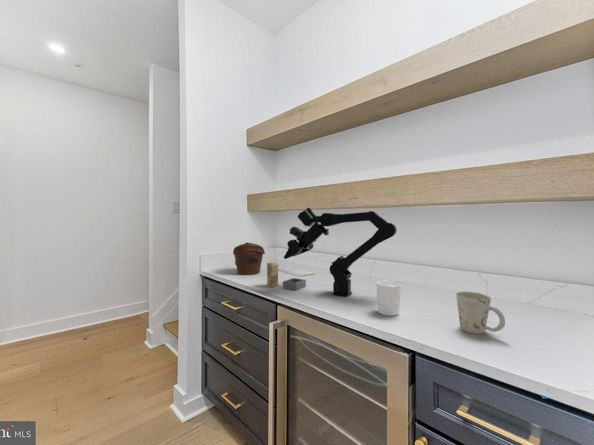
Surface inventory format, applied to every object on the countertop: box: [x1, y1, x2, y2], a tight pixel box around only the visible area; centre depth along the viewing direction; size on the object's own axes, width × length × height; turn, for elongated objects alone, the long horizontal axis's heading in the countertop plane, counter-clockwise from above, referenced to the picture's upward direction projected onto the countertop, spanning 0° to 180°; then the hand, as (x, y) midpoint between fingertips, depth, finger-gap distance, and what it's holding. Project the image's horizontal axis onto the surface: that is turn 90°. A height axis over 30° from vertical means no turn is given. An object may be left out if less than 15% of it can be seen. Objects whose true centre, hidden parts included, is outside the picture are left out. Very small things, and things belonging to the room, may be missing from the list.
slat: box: [266, 261, 279, 288], centre depth 130 cm, size 3×4×11 cm, turn 148°
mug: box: [455, 291, 506, 335], centre depth 78 cm, size 8×13×10 cm, turn 28°
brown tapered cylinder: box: [232, 242, 265, 276], centre depth 161 cm, size 18×20×18 cm
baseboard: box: [278, 263, 315, 278], centre depth 166 cm, size 31×3×12 cm
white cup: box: [376, 280, 402, 317], centre depth 94 cm, size 8×8×10 cm
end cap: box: [282, 277, 307, 292], centre depth 127 cm, size 7×9×3 cm
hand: (288, 256), depth 127 cm, fingers open, 9 cm apart
